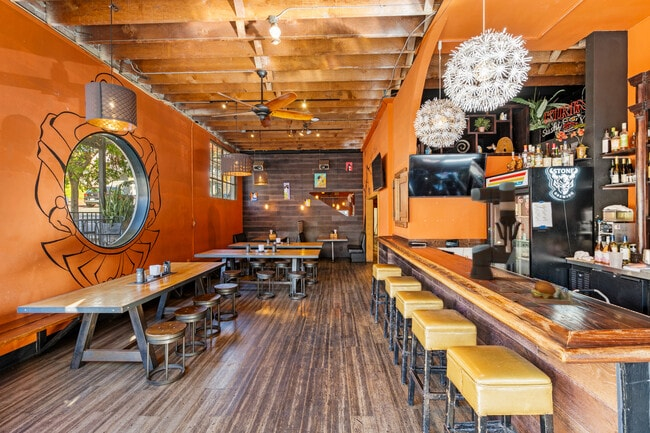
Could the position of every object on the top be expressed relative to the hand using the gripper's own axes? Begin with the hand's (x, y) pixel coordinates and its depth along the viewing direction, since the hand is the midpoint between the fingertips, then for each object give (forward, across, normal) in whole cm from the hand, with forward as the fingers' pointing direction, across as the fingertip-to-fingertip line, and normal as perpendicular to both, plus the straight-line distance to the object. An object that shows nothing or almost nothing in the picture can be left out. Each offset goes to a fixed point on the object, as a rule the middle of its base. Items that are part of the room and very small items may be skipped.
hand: (508, 252), depth 169 cm
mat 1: (+24, +12, +12) cm, 30 cm away
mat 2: (+24, +4, -16) cm, 30 cm away
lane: (+24, +11, -2) cm, 27 cm away
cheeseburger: (+25, +16, -1) cm, 30 cm away
